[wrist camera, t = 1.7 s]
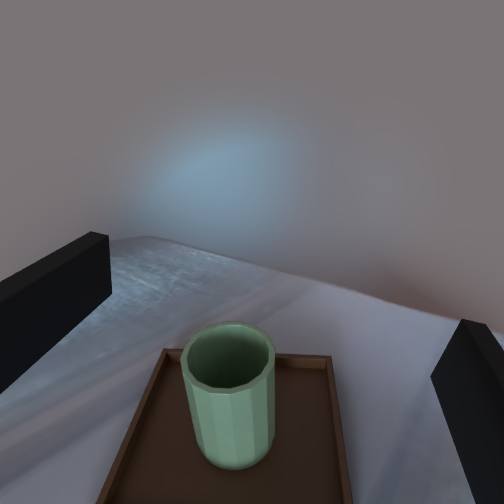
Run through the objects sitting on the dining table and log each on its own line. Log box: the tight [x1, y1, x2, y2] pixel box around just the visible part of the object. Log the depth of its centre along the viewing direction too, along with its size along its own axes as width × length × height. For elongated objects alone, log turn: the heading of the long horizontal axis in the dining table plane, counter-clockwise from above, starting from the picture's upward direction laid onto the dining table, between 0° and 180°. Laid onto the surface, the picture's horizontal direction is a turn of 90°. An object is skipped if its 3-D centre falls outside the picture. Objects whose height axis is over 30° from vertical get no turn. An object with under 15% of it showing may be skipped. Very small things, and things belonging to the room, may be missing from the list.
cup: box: [180, 321, 276, 470], centre depth 28 cm, size 7×7×10 cm
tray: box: [96, 348, 353, 504], centre depth 31 cm, size 19×16×2 cm
